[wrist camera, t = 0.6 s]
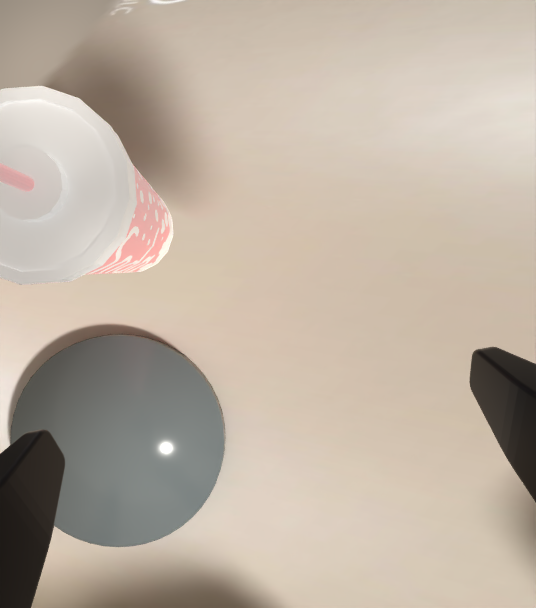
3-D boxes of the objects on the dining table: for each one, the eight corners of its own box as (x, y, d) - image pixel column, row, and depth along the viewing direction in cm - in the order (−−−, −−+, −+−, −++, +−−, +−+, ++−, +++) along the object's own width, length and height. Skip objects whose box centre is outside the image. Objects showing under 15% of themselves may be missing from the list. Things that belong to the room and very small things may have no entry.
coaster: (210, 550, 22) (208, 560, 21) (8, 522, 22) (-1, 531, 21) (238, 349, 22) (237, 351, 21) (32, 320, 22) (23, 322, 21)
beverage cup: (90, 300, 22) (-234, 318, 8) (58, 187, 22) (-333, -1, 8) (201, 270, 22) (76, 233, 8) (170, 156, 22) (-16, -93, 8)
